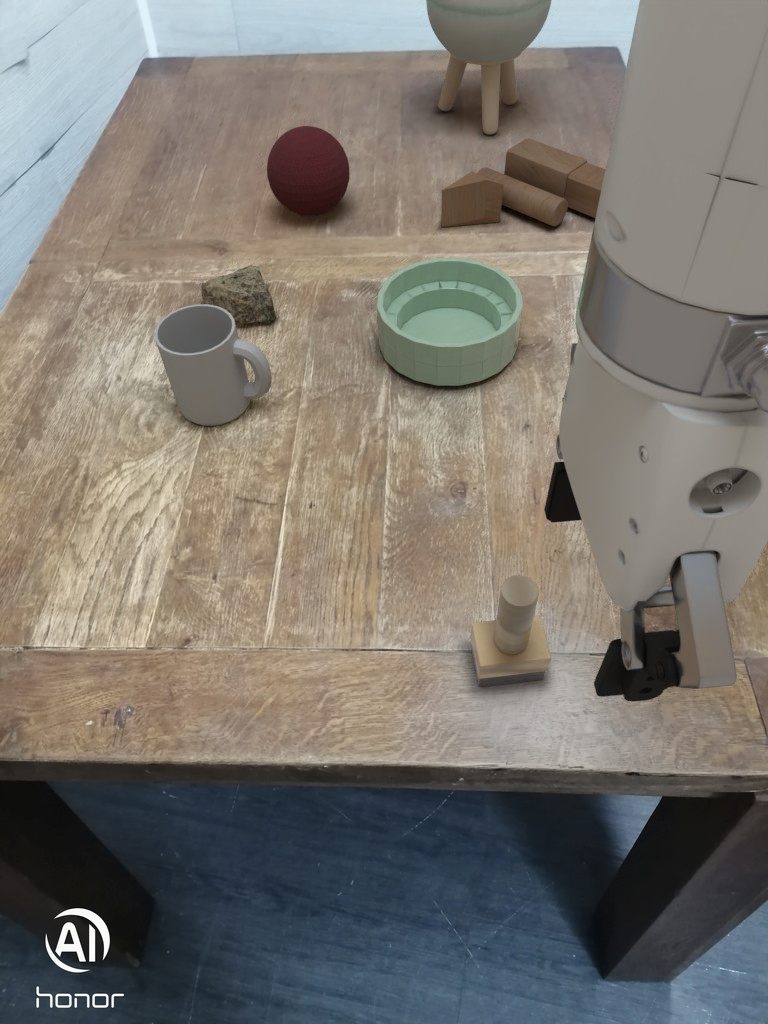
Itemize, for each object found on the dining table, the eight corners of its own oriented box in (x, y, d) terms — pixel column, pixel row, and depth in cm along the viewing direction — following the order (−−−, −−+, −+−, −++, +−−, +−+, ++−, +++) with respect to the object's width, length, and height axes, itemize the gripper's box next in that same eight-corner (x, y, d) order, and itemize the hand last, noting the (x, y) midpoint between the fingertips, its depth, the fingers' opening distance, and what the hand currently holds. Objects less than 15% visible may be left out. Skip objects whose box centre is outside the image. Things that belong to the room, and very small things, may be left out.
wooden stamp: (534, 638, 58) (551, 563, 50) (545, 680, 56) (565, 609, 48) (469, 645, 58) (476, 572, 50) (477, 688, 56) (486, 618, 48)
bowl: (543, 334, 80) (549, 289, 76) (464, 410, 74) (466, 366, 69) (433, 286, 86) (434, 242, 82) (351, 353, 79) (347, 309, 75)
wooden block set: (522, 126, 97) (648, 172, 89) (518, 170, 101) (637, 217, 93) (434, 179, 89) (563, 234, 81) (434, 224, 94) (556, 280, 86)
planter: (406, 106, 114) (404, -79, 96) (501, 82, 117) (515, -100, 100) (458, 153, 104) (466, -42, 87) (559, 125, 108) (586, -67, 91)
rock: (213, 338, 82) (204, 303, 78) (201, 296, 86) (191, 261, 83) (278, 323, 83) (272, 288, 79) (263, 283, 88) (256, 248, 84)
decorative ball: (363, 221, 95) (357, 140, 87) (285, 239, 93) (272, 158, 85) (338, 183, 101) (331, 104, 93) (265, 199, 99) (251, 120, 91)
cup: (193, 373, 78) (171, 301, 71) (287, 383, 77) (274, 310, 70) (168, 423, 74) (141, 351, 67) (267, 435, 73) (251, 362, 66)
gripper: (993, 498, 18) (745, 764, 31) (724, 146, 29) (625, 456, 42) (681, 526, 18) (565, 782, 31) (527, 161, 29) (490, 467, 42)
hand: (599, 594), depth 37 cm, fingers open, 9 cm apart
